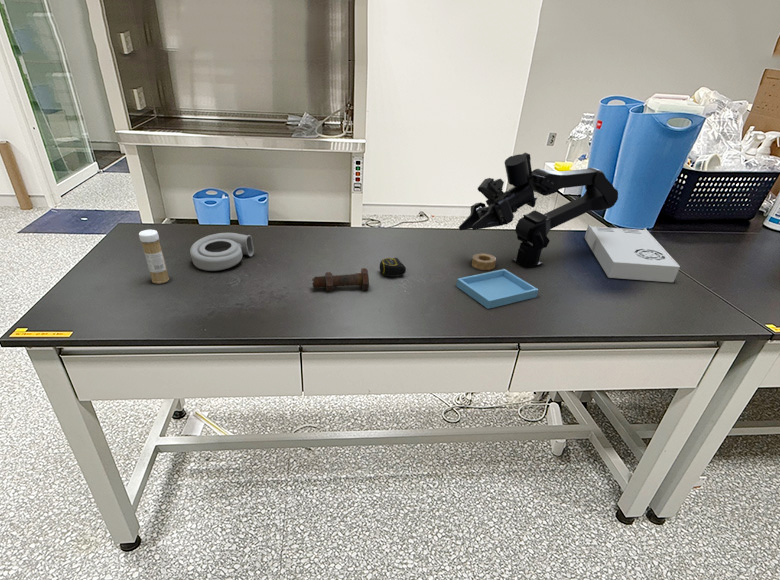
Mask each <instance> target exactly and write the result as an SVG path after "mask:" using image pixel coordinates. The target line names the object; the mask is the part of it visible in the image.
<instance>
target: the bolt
mask: <svg viewBox="0 0 780 580" xmlns="http://www.w3.org/2000/svg"><path fill="white" fill-rule="evenodd" d="M369 277H370V276H369V270H368V269H367V268H366V267H363V268H361V269H360V272H356V273H350V274H349V273H348V274H346V273H345V274H336V275H335V274H334V275H333V273H332V272H331V271H327V272H325V273H324V275H322V276H320V275H319V276H318V275H317V276H314V277H312V279H311V281H312V288H313V289H325V290H326V291H327V292H332V291H334V288H339V287H361V288H362V291H367V290H368V289H369V288H370V278H369Z"/></svg>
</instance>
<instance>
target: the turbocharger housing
mask: <svg viewBox="0 0 780 580" xmlns="http://www.w3.org/2000/svg"><path fill="white" fill-rule="evenodd" d="M189 253H190V257H191V261H192V264H193V265H194V266H195V267H196V268H197V269H200V270H203V271H208V272H216V271H218V272H219V271H224V270H226V269H231V268H232V267H234V266H237V265H238V264H239V263H240V262H241V261H242V258H243V255H245V256H248V257H253V255H254V254H255V247H254V242H253V237H252V235H250V234H248V235H247V234H242V233H236V232H220V233H219V232H218V233H214V234H209V235H206V236H203V237H202V238H200V239H198V240H196V241H195V242H194V243H193V244H192V245H191V247H190V249H189Z"/></svg>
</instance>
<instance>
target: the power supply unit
mask: <svg viewBox="0 0 780 580" xmlns="http://www.w3.org/2000/svg"><path fill="white" fill-rule="evenodd" d="M584 239H585V241H586V243H587V245H588V246H589V248H590V250H591V252H592V254H594V257H595V258H596V260H597V262H598V264H600V266H601V268H602V270H603V271H604V273H605V275H606V276H607V278H609V279H622V280H635V281H648V282H661V283H675V279H676V278H677V276H678V273H679V270H680V268H681V266H680V265H679V263H678V262H677V261H676V260H675V259H674V258H673V257H672V256H671V255H670V254H669V253H668V251H667V250H666V249H665V248H664V247H663V246H662V245H661V244H660V242H659V241H657V239H656V238H655V237H654V236H653V235H652V234H651V233H650V232H649V230H647V228H646V227H644V228H642V229H633V228H621V227H620V228H619V227H605V226H591V224H587V227H586V231H585V235H584Z"/></svg>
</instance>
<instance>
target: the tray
mask: <svg viewBox="0 0 780 580" xmlns="http://www.w3.org/2000/svg"><path fill="white" fill-rule="evenodd" d="M455 287H456V288H458V289H460V290H461V291H462V292H464V294H466V295H468V296H469V297H470V298H472V299H473V300H474V301H476V302H477V303H479V304H480V305H482V306H483V307H485V308H486V309H488V310H489V309H493V308H497V307H502V306H505V305H509V304H513V303H519V302H522V301H527V300H530V299H534V298H537V297H538V293H539V288H537V287H536V286H533V285H532V284H531V283H529V282H527V281H526V280H525V279H523V278H520V277H519V276H518V275H516V274H514V273H512V272H510V271H509V270H507V269H506V268H502V269H497V270H493V271H488V272H483V273H482V272H481V273H478V274H474V275H468V276H464V277H459V278H457V279H456V286H455Z"/></svg>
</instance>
